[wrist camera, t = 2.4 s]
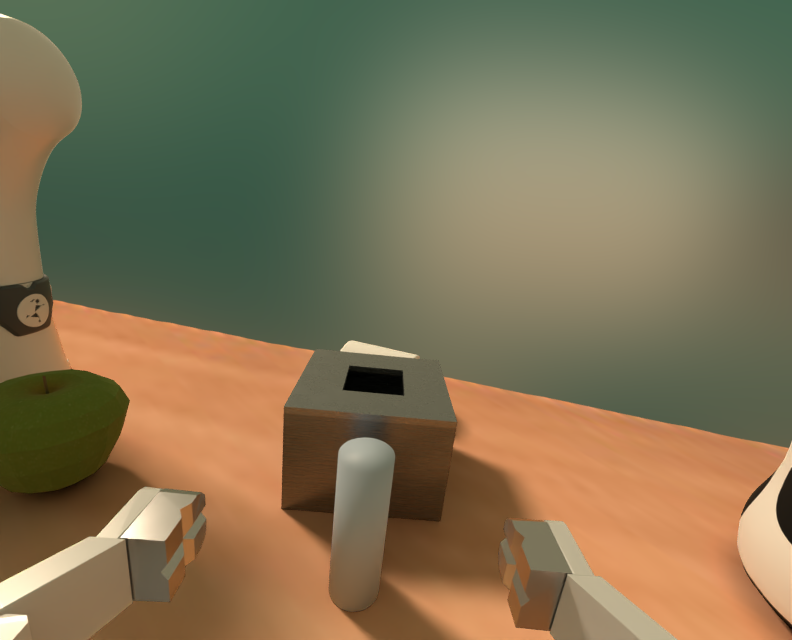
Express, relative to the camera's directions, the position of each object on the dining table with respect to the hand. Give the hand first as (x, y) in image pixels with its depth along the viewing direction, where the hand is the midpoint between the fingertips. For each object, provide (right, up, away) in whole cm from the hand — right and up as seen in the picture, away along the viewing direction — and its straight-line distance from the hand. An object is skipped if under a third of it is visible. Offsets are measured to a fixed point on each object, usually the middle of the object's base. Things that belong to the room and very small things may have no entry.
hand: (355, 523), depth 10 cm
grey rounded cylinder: (-2, -14, +17) cm, 22 cm away
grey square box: (-2, -10, +29) cm, 31 cm away
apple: (-29, -9, +23) cm, 38 cm away
